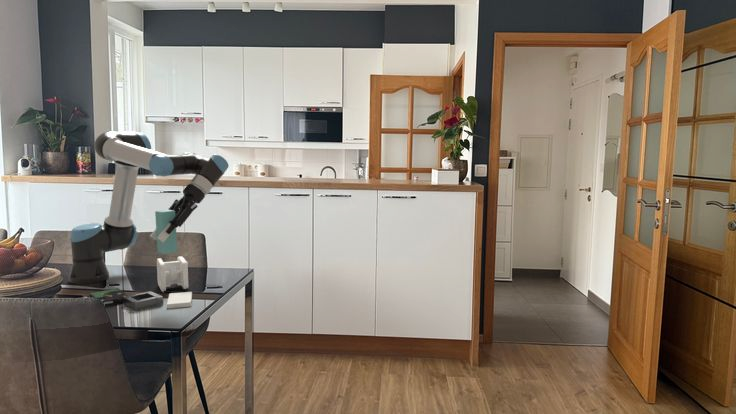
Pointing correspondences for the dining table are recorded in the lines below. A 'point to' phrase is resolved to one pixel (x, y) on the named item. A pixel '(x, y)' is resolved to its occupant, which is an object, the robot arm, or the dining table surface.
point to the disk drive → (110, 296)
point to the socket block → (142, 300)
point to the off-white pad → (179, 300)
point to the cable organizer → (172, 273)
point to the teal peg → (161, 223)
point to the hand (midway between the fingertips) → (156, 239)
